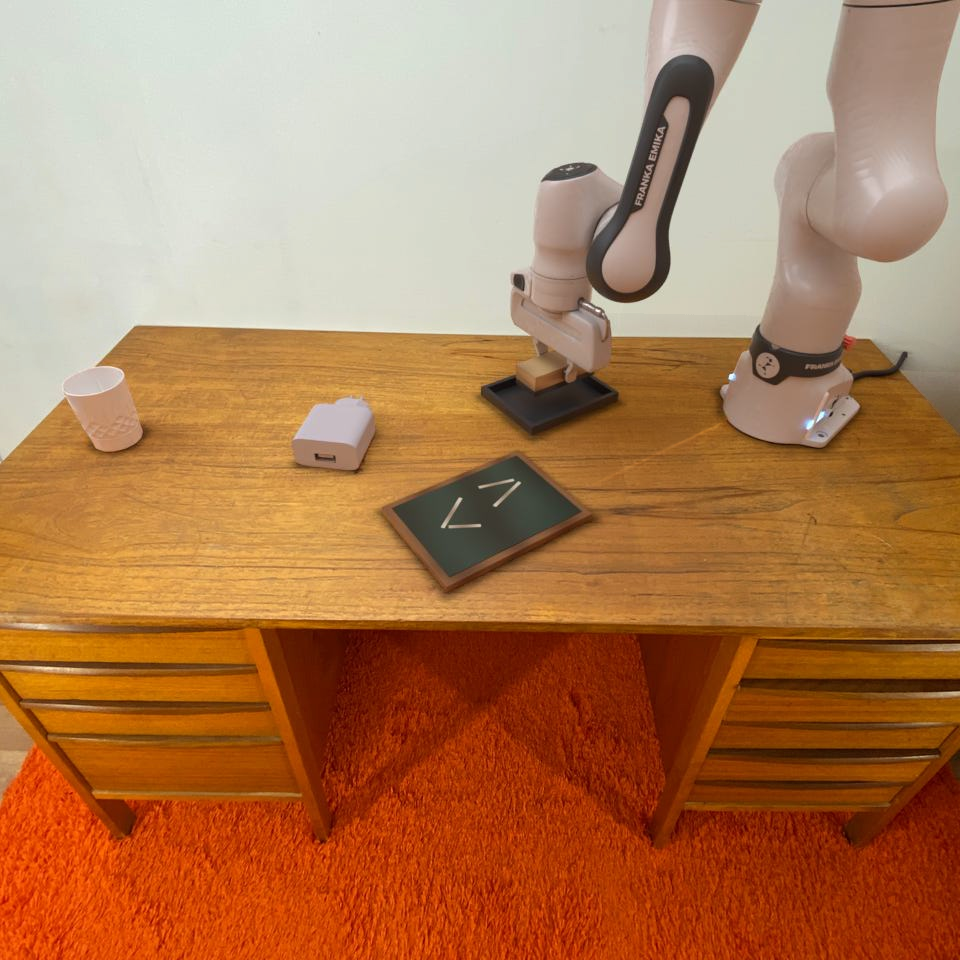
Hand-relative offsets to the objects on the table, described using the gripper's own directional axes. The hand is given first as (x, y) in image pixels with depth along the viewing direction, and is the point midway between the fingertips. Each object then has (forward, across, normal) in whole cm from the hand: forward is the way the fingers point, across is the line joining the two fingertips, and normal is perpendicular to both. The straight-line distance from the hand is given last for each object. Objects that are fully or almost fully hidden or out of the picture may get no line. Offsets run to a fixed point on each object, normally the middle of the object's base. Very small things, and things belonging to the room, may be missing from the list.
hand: (555, 371), depth 101 cm
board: (+5, -17, +25) cm, 30 cm away
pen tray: (+5, 0, +1) cm, 5 cm away
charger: (+4, +9, +33) cm, 34 cm away
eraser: (+1, 0, 0) cm, 1 cm away
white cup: (+4, +26, +61) cm, 67 cm away
